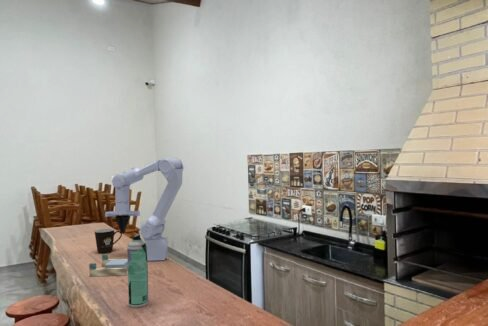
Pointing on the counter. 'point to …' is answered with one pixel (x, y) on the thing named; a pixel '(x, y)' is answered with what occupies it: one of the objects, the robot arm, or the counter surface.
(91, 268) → the channel
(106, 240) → the coffee mug
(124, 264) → the block
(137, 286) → the spray can
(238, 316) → the counter surface
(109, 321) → the counter surface
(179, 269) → the counter surface
